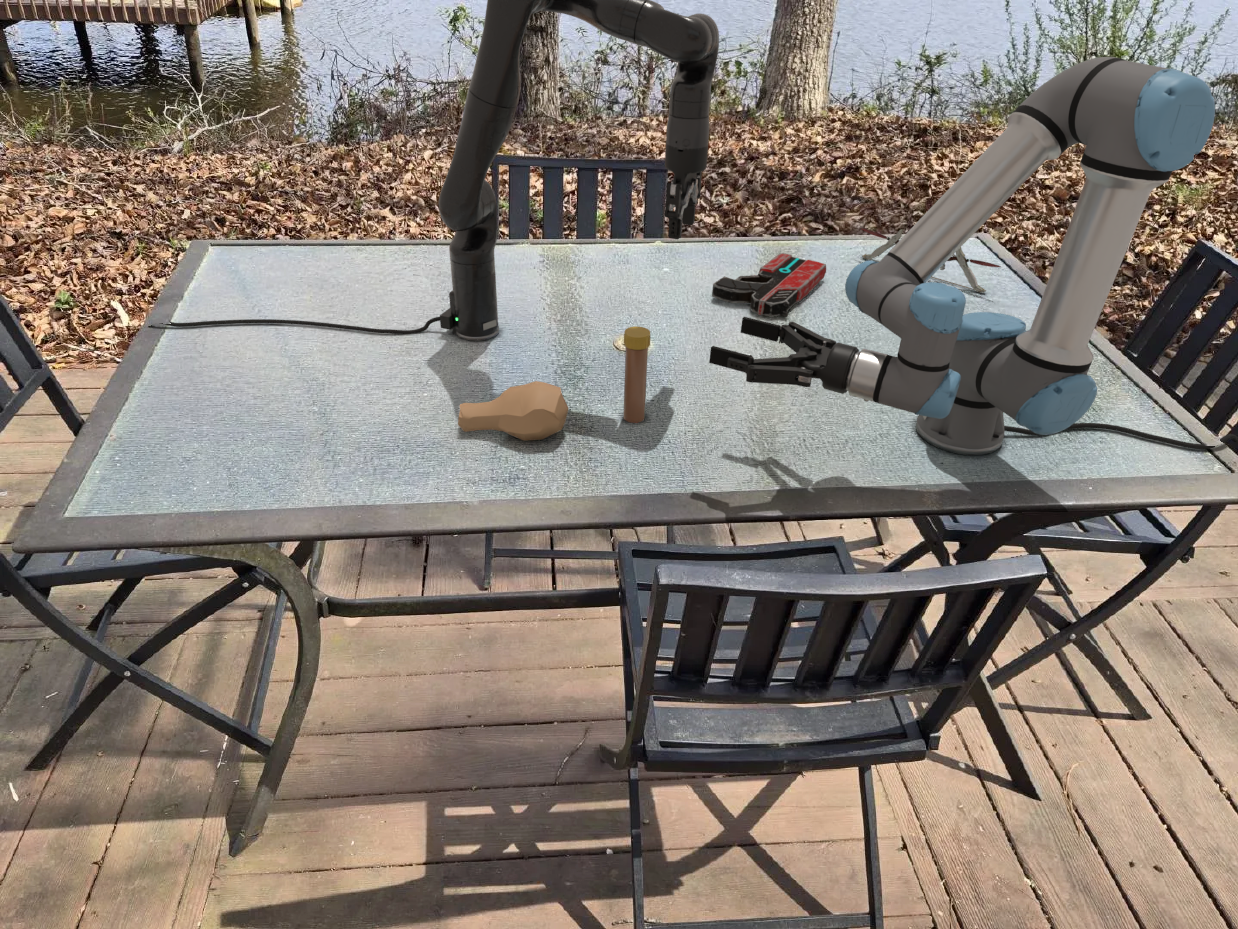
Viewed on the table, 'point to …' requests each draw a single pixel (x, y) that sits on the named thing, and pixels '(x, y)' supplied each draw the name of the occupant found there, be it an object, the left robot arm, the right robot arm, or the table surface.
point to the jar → (635, 385)
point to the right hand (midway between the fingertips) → (726, 338)
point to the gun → (772, 285)
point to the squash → (519, 412)
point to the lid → (637, 338)
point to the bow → (958, 257)
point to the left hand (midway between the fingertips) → (681, 231)
